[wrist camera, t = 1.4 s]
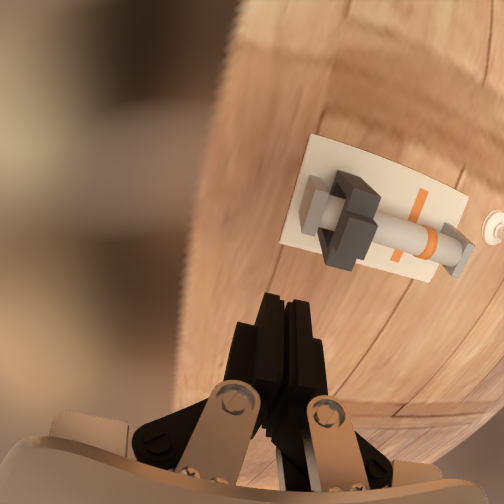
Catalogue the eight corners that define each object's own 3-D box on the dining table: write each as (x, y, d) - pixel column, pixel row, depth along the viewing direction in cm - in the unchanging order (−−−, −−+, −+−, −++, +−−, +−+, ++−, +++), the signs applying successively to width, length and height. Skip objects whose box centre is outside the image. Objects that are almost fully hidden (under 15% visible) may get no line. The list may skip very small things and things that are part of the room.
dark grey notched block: (316, 231, 30) (327, 273, 22) (337, 169, 26) (358, 192, 19) (338, 237, 30) (354, 280, 22) (359, 176, 26) (387, 202, 19)
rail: (279, 239, 32) (278, 270, 26) (310, 132, 26) (318, 138, 21) (426, 278, 33) (446, 310, 27) (464, 194, 27) (496, 214, 21)
